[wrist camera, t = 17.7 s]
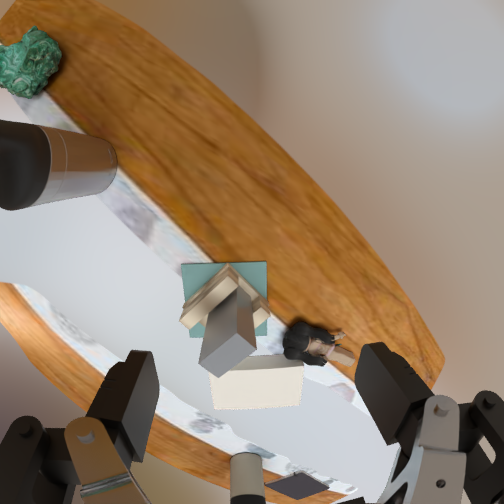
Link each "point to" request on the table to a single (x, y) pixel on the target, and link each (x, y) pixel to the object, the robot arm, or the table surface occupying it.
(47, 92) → the table surface
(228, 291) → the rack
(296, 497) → the notebook
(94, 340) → the table surface
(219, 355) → the grey rectangular block
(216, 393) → the cream flat block
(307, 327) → the toy figure
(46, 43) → the mineral
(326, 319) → the table surface
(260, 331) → the mat
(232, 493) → the travel mug
